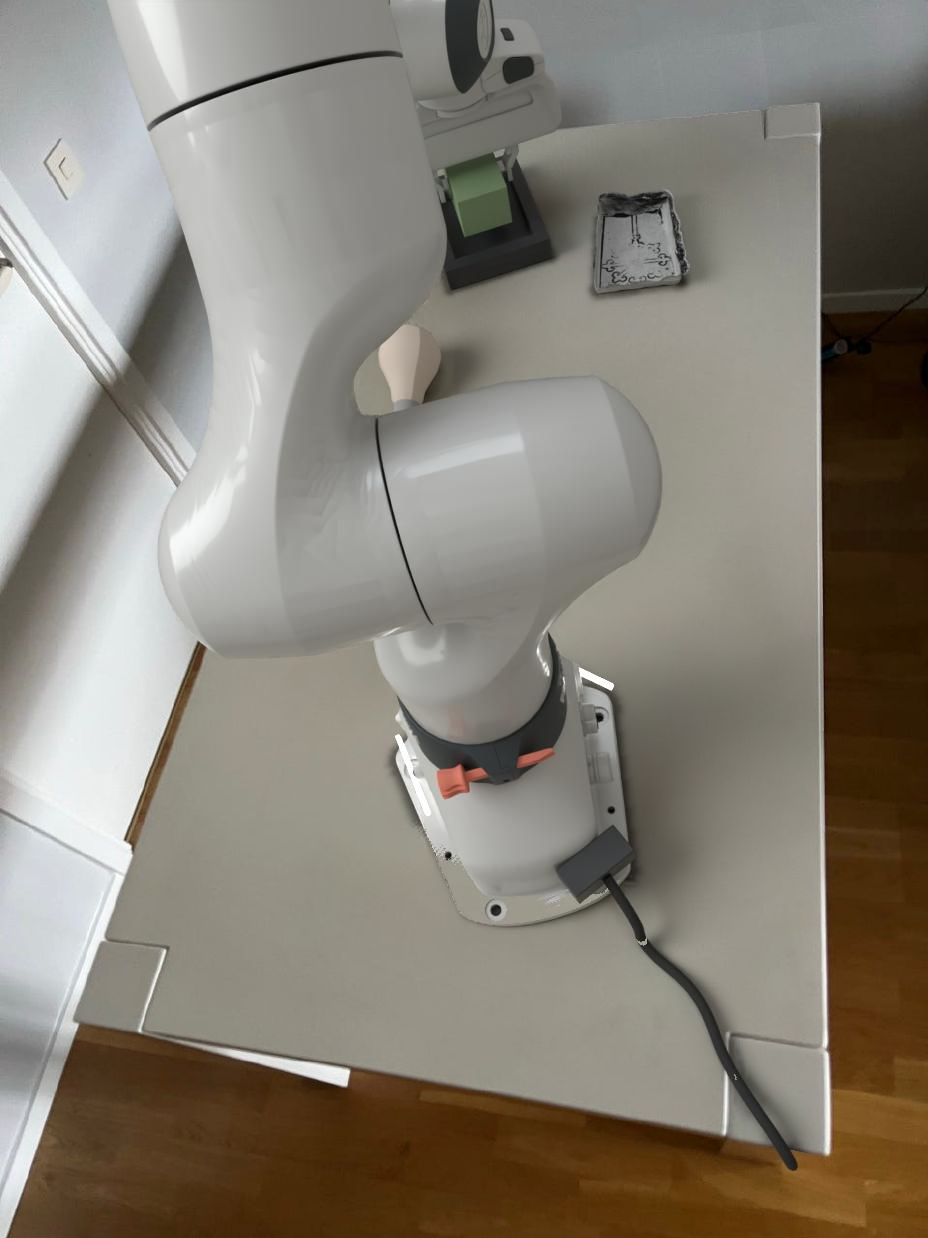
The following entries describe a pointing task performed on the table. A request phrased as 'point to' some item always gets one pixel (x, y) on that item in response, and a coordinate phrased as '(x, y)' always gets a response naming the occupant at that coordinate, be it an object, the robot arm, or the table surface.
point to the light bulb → (409, 364)
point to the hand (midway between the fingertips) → (476, 188)
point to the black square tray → (496, 239)
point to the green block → (479, 194)
